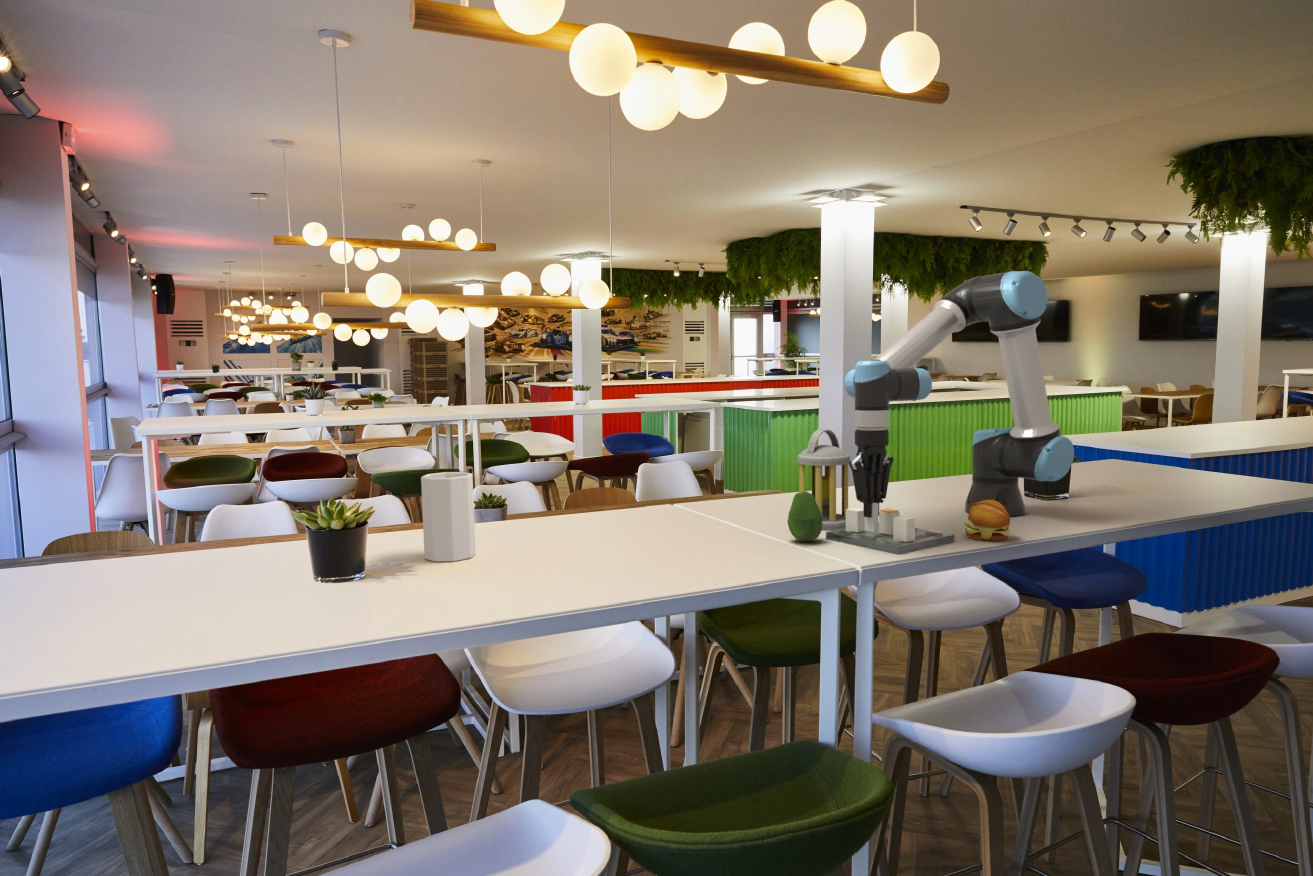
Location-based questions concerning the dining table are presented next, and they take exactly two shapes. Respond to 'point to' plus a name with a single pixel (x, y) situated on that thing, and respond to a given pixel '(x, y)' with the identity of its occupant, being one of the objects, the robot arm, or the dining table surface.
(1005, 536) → the cheeseburger
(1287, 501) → the dining table surface
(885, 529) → the toggle mid
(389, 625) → the dining table surface
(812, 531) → the avocado
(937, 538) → the panel
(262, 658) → the dining table surface
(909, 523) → the toggle high
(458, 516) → the cup
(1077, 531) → the dining table surface
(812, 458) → the lantern
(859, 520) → the toggle low
